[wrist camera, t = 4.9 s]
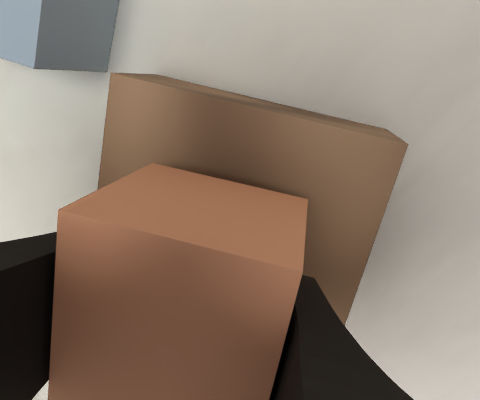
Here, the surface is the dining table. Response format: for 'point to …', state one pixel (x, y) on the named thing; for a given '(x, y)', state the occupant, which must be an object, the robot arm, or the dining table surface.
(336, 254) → the walnut block
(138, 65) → the dining table surface
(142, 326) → the terracotta cube
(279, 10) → the dining table surface
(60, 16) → the slate-blue cube
